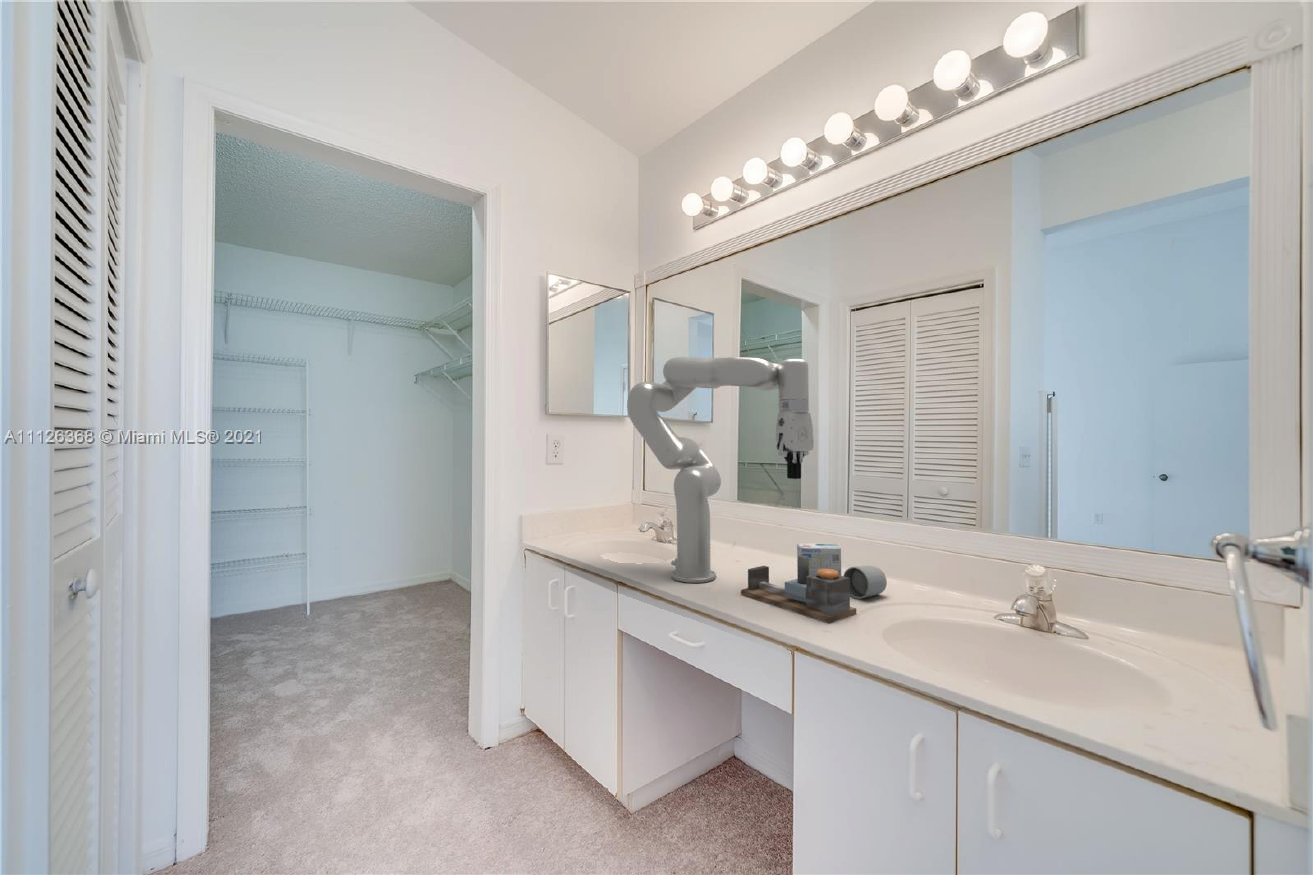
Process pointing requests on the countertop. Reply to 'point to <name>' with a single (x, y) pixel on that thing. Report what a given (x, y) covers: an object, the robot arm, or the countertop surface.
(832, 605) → the rail board
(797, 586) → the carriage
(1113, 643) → the countertop surface
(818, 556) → the light bulb box
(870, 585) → the ceramic mug
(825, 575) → the button
